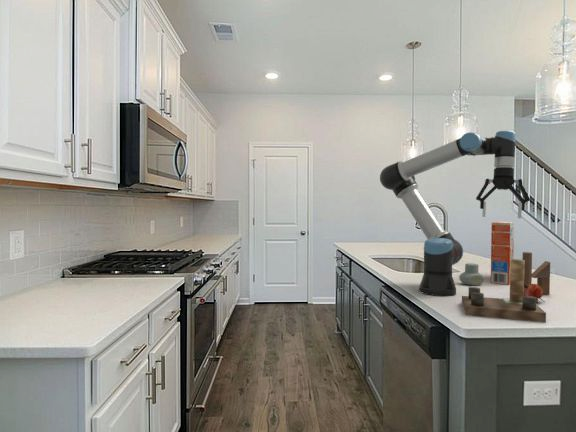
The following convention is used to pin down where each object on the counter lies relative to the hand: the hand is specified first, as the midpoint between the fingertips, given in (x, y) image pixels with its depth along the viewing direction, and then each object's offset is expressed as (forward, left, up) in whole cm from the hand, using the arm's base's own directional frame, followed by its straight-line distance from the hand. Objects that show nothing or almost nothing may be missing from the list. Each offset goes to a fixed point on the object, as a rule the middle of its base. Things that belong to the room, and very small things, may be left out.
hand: (501, 217), depth 170 cm
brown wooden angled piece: (+15, +8, -33) cm, 38 cm away
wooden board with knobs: (-5, -32, -33) cm, 46 cm away
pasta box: (+7, +38, -33) cm, 51 cm away
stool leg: (+1, -26, -30) cm, 40 cm away
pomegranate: (+11, -9, -33) cm, 36 cm away
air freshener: (-9, +21, -33) cm, 41 cm away
